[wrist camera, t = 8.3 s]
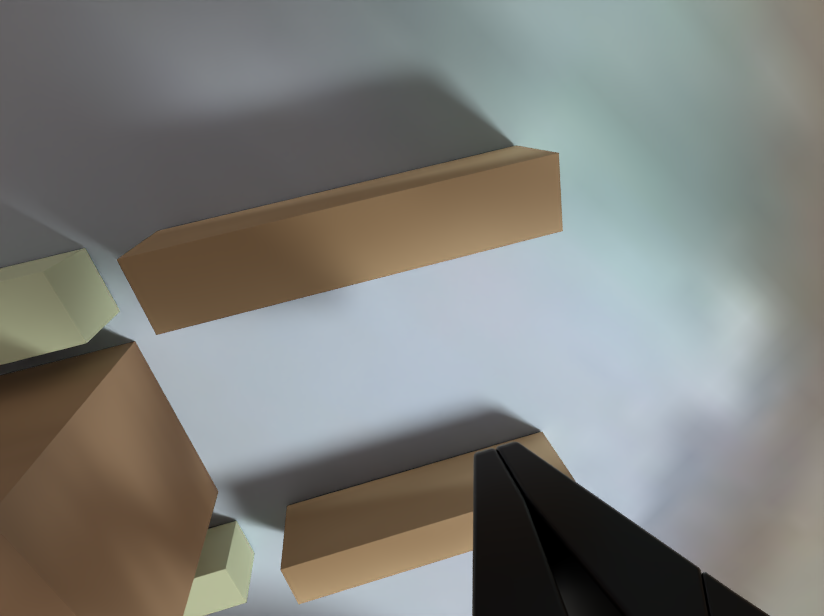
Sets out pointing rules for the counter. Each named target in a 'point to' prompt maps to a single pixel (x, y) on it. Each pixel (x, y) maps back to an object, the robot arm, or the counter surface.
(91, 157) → the counter surface
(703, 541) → the counter surface
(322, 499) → the tunnel walls
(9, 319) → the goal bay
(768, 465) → the counter surface
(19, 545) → the walnut block
